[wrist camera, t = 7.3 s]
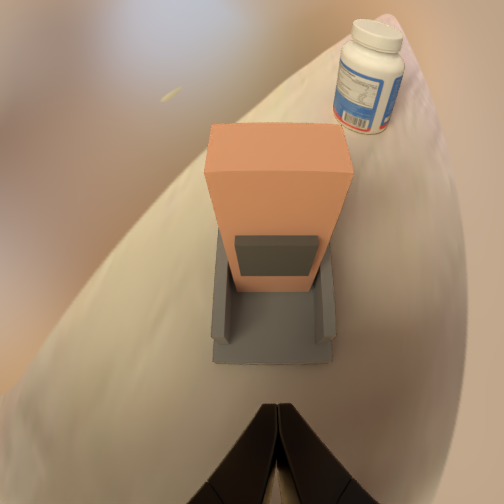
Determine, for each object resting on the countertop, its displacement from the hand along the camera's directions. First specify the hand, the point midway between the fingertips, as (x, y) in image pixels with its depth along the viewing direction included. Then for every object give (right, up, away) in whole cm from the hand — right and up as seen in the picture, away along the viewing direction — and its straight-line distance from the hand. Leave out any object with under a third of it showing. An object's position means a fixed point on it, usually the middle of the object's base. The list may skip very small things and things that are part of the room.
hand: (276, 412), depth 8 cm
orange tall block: (0, +3, +9) cm, 10 cm away
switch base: (+1, +3, +10) cm, 11 cm away
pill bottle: (+9, +17, +17) cm, 26 cm away
